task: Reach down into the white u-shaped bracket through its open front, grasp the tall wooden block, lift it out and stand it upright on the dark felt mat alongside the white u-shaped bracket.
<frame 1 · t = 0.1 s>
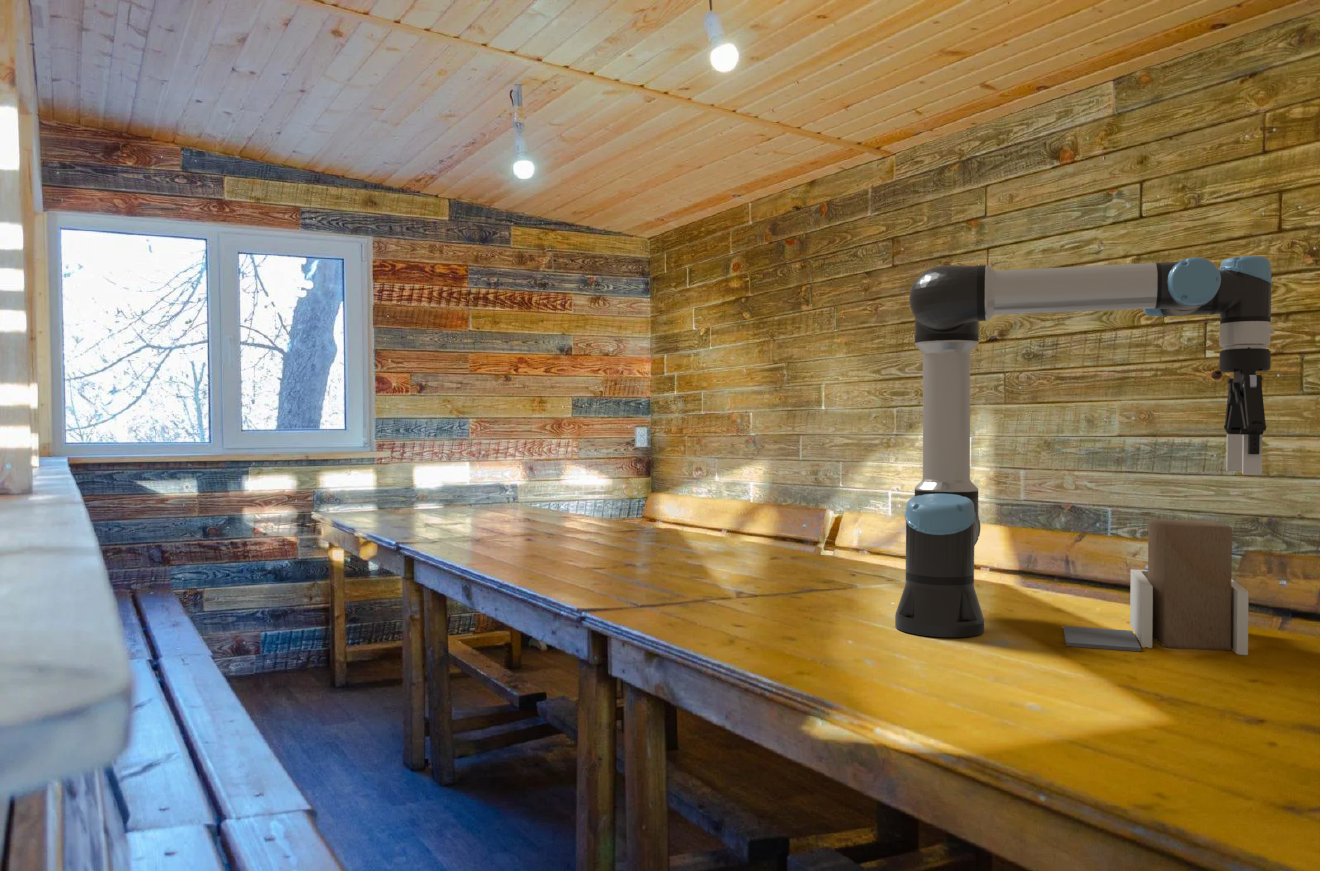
hand: (1243, 473, 167), 28 cm above the table, fingers open, 13 cm apart
wooden block: (1187, 644, 163), on the table
white u-shaped bracket: (1185, 639, 165), on the table
mat: (1100, 639, 164), on the table
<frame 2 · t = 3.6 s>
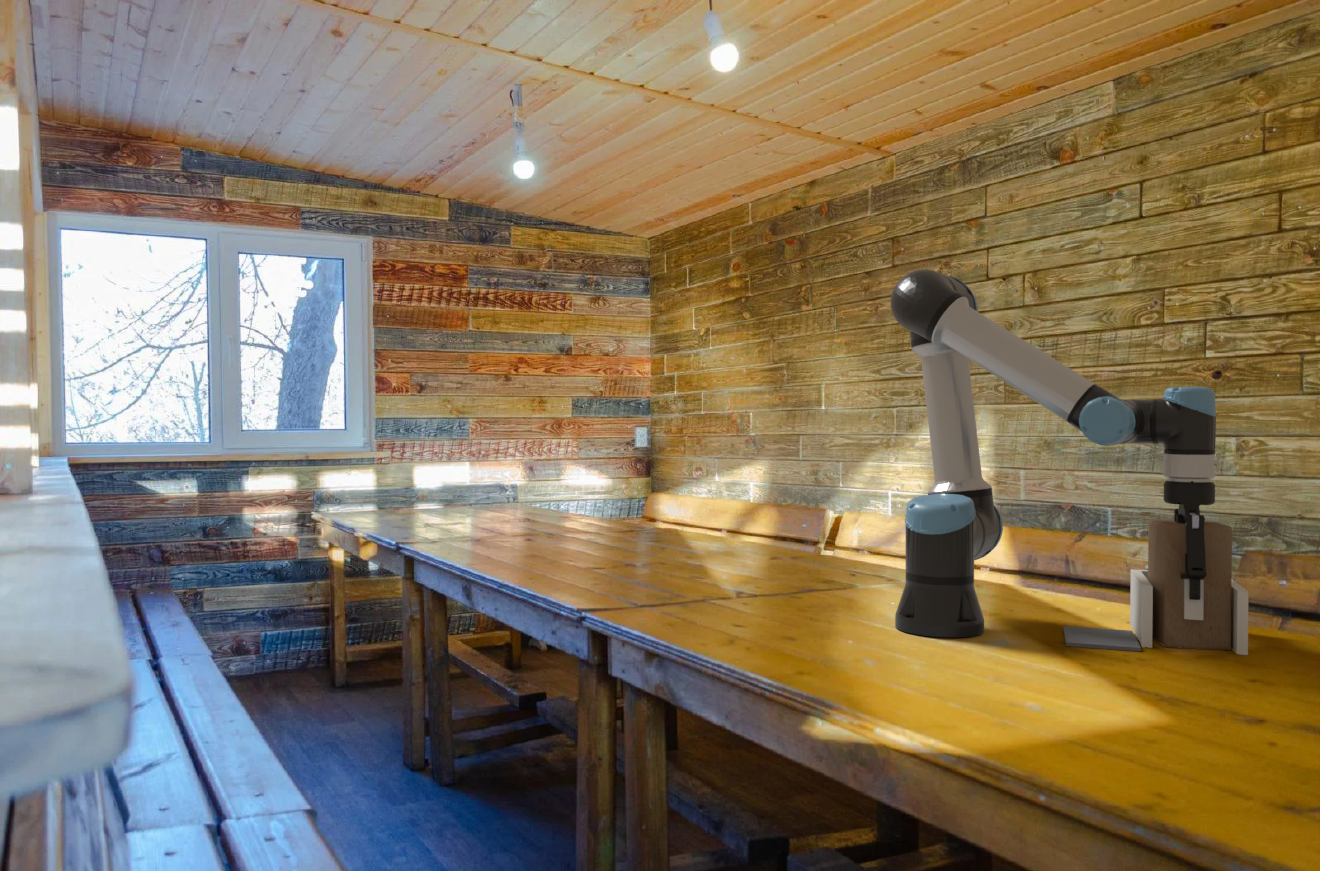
hand: (1188, 613, 162), 5 cm above the table, fingers closed on wooden block, 11 cm apart
wooden block: (1187, 643, 163), on the table, touching gripper
when the fingers open (6 cm above the table, at t = 11.0 s): wooden block stays where it is, resting on mat.
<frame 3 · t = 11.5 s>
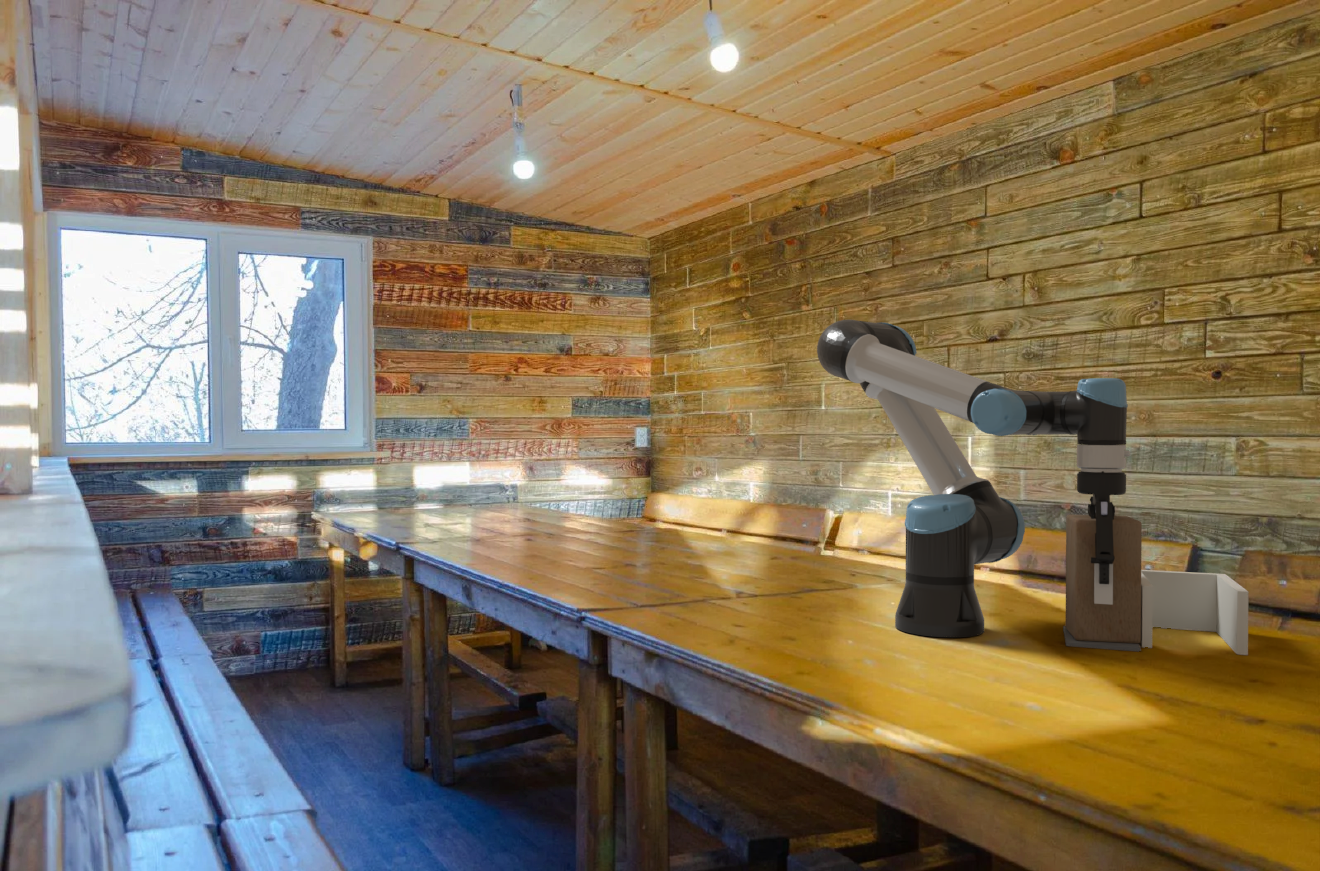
hand: (1100, 597, 164), 7 cm above the table, fingers open, 13 cm apart
wooden block: (1101, 637, 164), resting on mat
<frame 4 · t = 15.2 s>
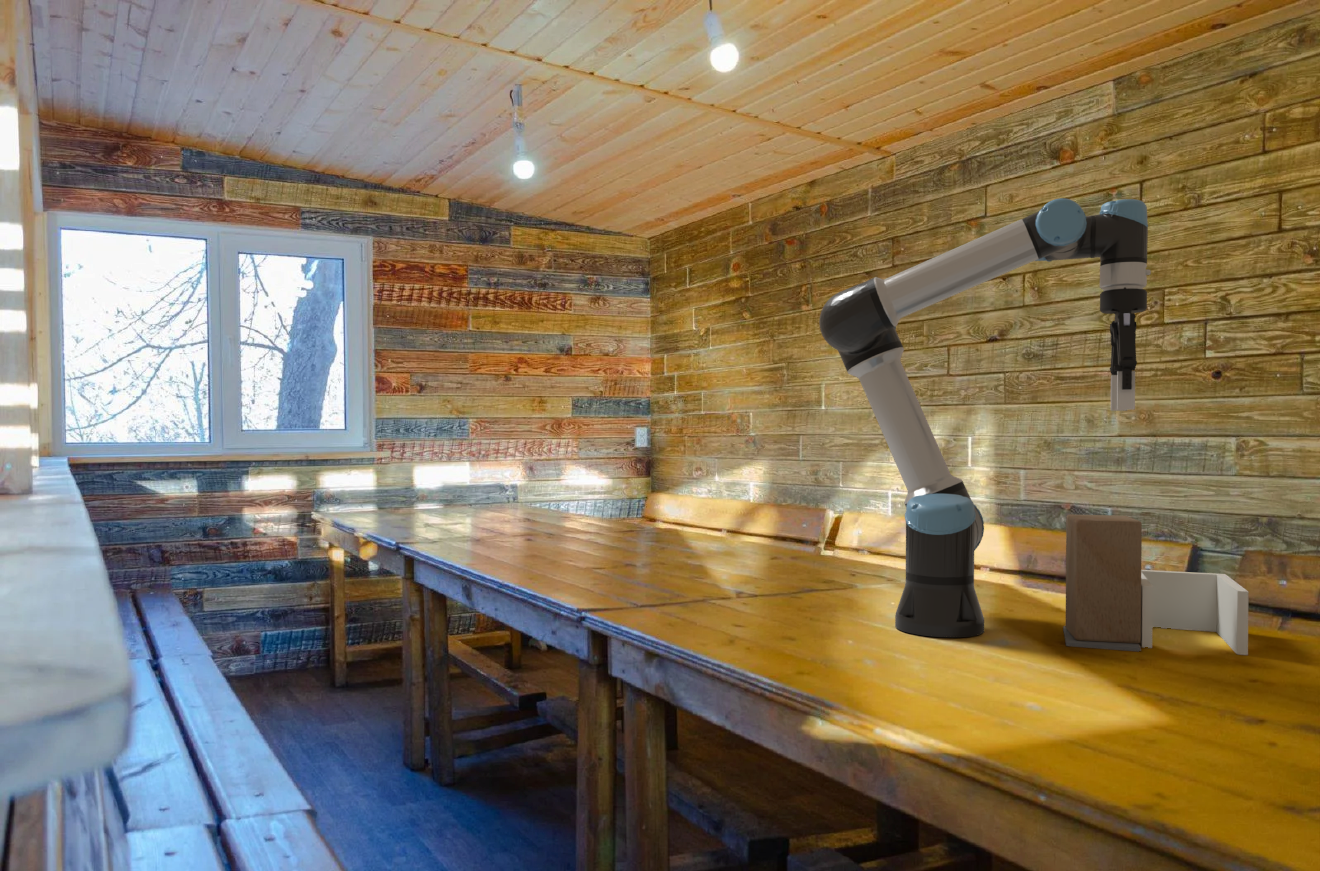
hand: (1122, 410, 173), 39 cm above the table, fingers open, 13 cm apart
nothing on the table moved.
at the end: wooden block inside the target area on the mat (0.3 cm from its centre), point 0.4 cm above the mat's base; wooden block tilted 0°; the gripper is holding nothing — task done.
